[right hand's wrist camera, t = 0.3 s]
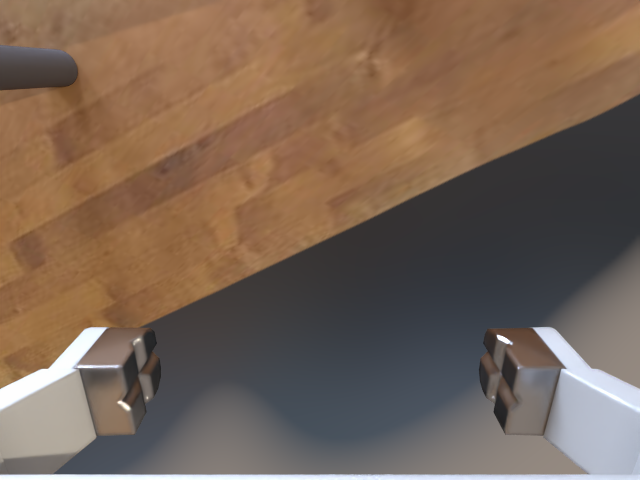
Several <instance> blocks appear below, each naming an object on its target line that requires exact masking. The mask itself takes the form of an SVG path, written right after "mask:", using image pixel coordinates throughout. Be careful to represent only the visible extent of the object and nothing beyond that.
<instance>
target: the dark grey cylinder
mask: <svg viewBox="0 0 640 480" xmlns="http://www.w3.org/2000/svg"><path fill="white" fill-rule="evenodd" d="M77 73H78V72H77V66H76V63H75V61H74V60H73V58H72V57H71V56H70V55H69V54H67V53H66V52H64V51H61V50H55V49H42V48H30V47H17V46H4V45H0V90H13V89H29V88H45V87H61V86H69V85H71V84H72V83H74V81H75V80H76V78H77Z"/></svg>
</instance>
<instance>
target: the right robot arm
mask: <svg viewBox="0 0 640 480" xmlns="http://www.w3.org/2000/svg"><path fill="white" fill-rule="evenodd" d="M156 344H157V342H156V338H155V333H154V331H153V330H152V329H151V328H115V327H111V328H109V327H90V328H87V329H85V330H84V331H83V332H82V333H81V334H80V335H79V336H78V337H77V338H76V339H75V341H74V342H73V343H72V344H71V345H70V346H69V347H68V348H67V349H66V350H65V351H64V352H63V354H62V355H61V356H60V357H59V358H58V359H57V360H56V361H55V362H54V363H53V364H52V366H51V367H50V368H49V369H41V370H39V371H36V372H34V373H32V374H30V375H28V376H26V377H24V378H22V379H20V380H18V381H16V382H14V383H12V384H10V385H7V386H5V387H3V388H1V389H0V480H640V389H639V388H637V387H634V386H632V385H630V384H628V383H626V382H624V381H622V380H620V379H618V378H616V377H614V376H612V375H610V374H608V373H606V372H604V371H601V370H599V369H591V368H590V367H589V366H588V364H587V363H586V362H585V361H584V360H583V359H582V358H581V357H580V356H579V355H578V354H577V352H576V351H575V350H574V349H573V348H572V347H571V346H570V345H569V344H568V343H567V342H566V340H565V339H564V338H563V337H562V336H561V335H560V334H559V333H558V332H557V331H556V330H555V329H553V328H551V327H537V328H507V329H487V331H486V333H485V337H484V342H483V344H484V345H485V347H486V349H487V350H488V352H487V353H486V354H485V355H484V356H483V357H482V358H481V360H480V367H479V375H480V383H481V386H482V390H483V392H484V394H485V396H486V398H487V399H489V400H490V401H492V402H493V403H495V407H494V414H495V416H496V418H497V420H498V422H499V423H500V425H501V427H502V429H503V431H504V433H505V435H540V436H544V438H545V439H546V440H547V441H548V442H550V443H551V444H552V445H553V446H554V447H556V448H557V449H558V450H559V451H561V452H562V453H563V454H564V455H565V456H567V457H568V458H569V459H570V460H571V461H573V462H574V463H575V464H576V465H577V466H579V467H580V468H581V469H582V470H584V471H585V472H586V473H587V474H588V475H52V474H53V473H54V472H55V471H57V470H58V469H59V468H60V467H61V466H63V465H64V464H65V463H66V462H68V461H69V460H70V459H71V458H72V457H74V456H75V455H76V454H77V453H78V452H80V451H81V450H82V449H83V448H85V447H86V446H87V445H88V444H89V443H91V442H92V441H93V440H94V439H95V438H96V436H101V435H134V434H135V433H136V431H137V429H138V427H139V425H140V424H141V422H142V420H143V418H144V416H145V414H146V407H145V403H147V402H148V401H150V400H151V399H153V398H154V396H155V394H156V392H157V390H158V386H159V382H160V377H161V366H160V360H159V358H158V357H157V356H156V355H155V354H154V353H153V352H152V350H153V349H154V347H155V345H156Z"/></svg>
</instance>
